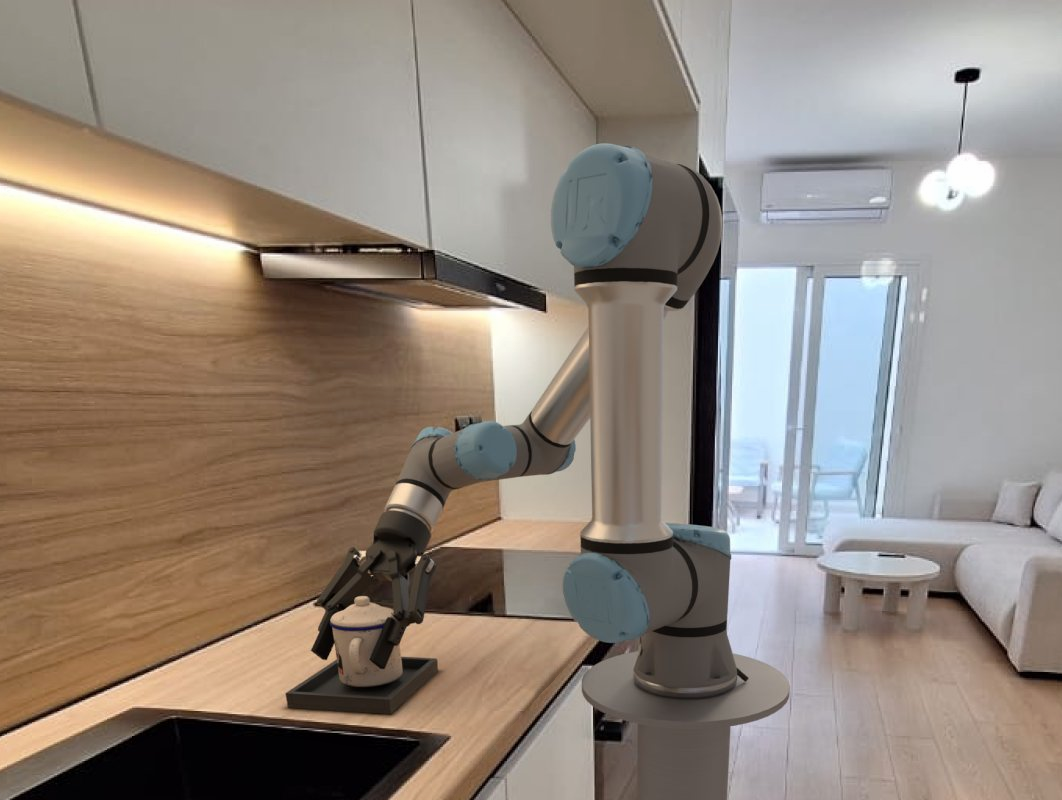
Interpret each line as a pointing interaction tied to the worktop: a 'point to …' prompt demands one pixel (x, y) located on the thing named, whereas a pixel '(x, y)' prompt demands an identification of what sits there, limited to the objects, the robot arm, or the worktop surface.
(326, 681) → the base pad
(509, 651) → the worktop surface
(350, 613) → the teacup with lid
